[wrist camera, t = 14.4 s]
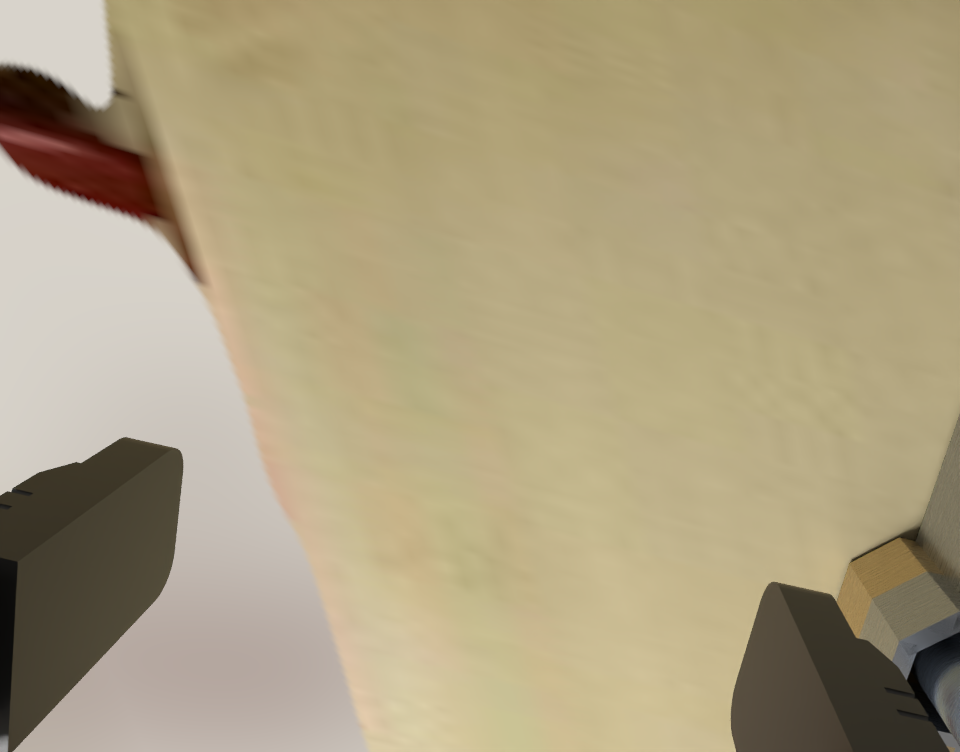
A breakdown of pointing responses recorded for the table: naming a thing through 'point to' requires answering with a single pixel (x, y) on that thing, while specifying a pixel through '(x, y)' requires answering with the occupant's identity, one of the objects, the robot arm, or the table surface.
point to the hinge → (913, 586)
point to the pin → (942, 679)
